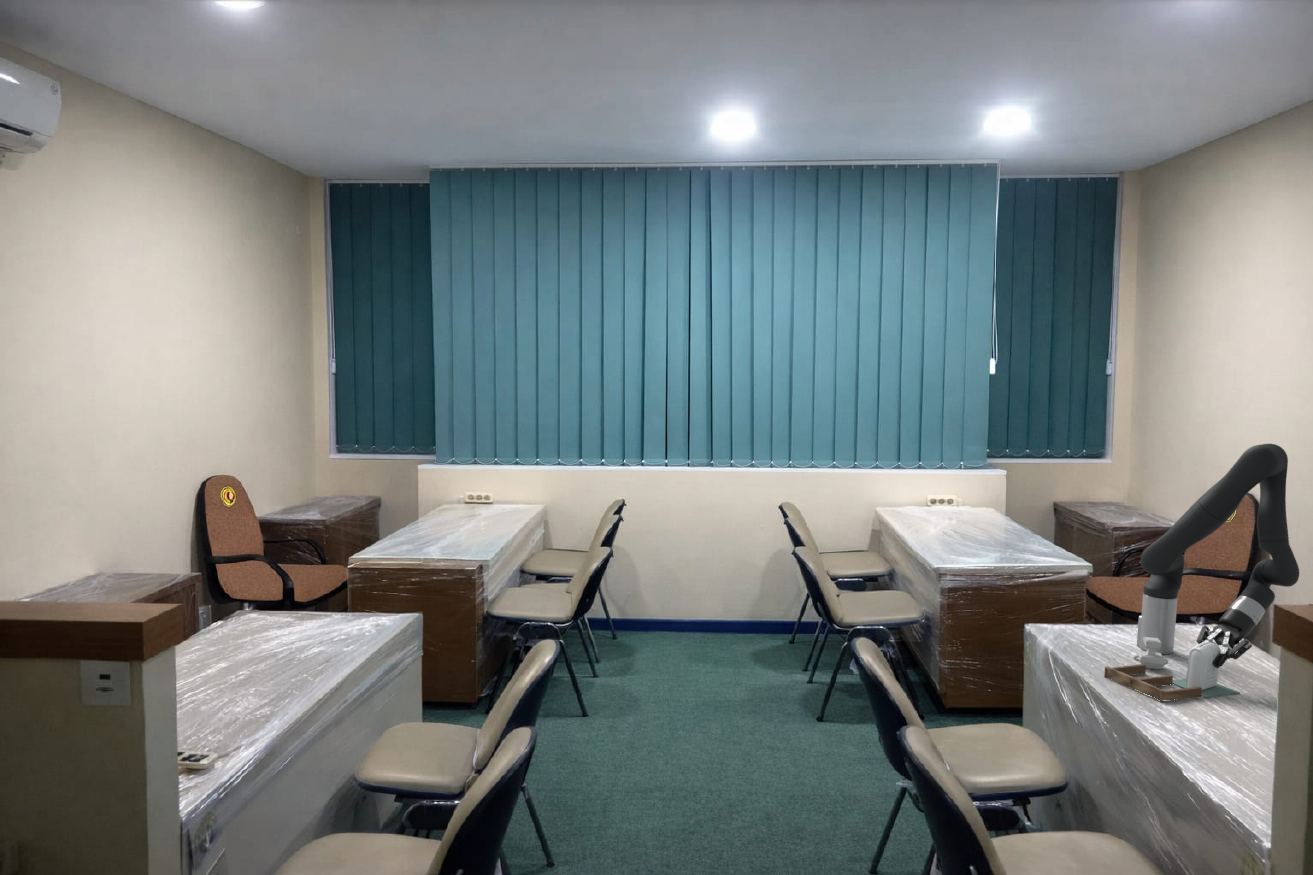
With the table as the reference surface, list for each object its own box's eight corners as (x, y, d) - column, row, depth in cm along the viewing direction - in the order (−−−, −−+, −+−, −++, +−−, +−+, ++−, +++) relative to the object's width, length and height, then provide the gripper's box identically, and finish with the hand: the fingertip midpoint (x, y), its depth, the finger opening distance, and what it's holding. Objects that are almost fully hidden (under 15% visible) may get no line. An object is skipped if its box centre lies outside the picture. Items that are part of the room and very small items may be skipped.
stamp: (1134, 668, 258) (1136, 640, 258) (1131, 661, 265) (1133, 633, 264) (1170, 673, 255) (1172, 644, 255) (1165, 665, 262) (1167, 637, 261)
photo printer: (1202, 680, 248) (1208, 637, 247) (1219, 685, 245) (1224, 642, 243) (1182, 687, 243) (1187, 643, 241) (1199, 692, 239) (1204, 648, 238)
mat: (1167, 682, 248) (1167, 680, 248) (1200, 678, 252) (1200, 676, 252) (1205, 698, 237) (1205, 696, 237) (1239, 693, 240) (1239, 692, 240)
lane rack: (1104, 676, 251) (1105, 666, 251) (1142, 672, 255) (1143, 662, 255) (1160, 702, 233) (1161, 690, 233) (1201, 696, 237) (1201, 686, 237)
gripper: (1212, 600, 252) (1176, 645, 249) (1260, 615, 238) (1222, 662, 236) (1225, 617, 254) (1189, 662, 251) (1273, 632, 240) (1236, 680, 238)
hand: (1206, 662), depth 243 cm, fingers closed on photo printer, 5 cm apart
